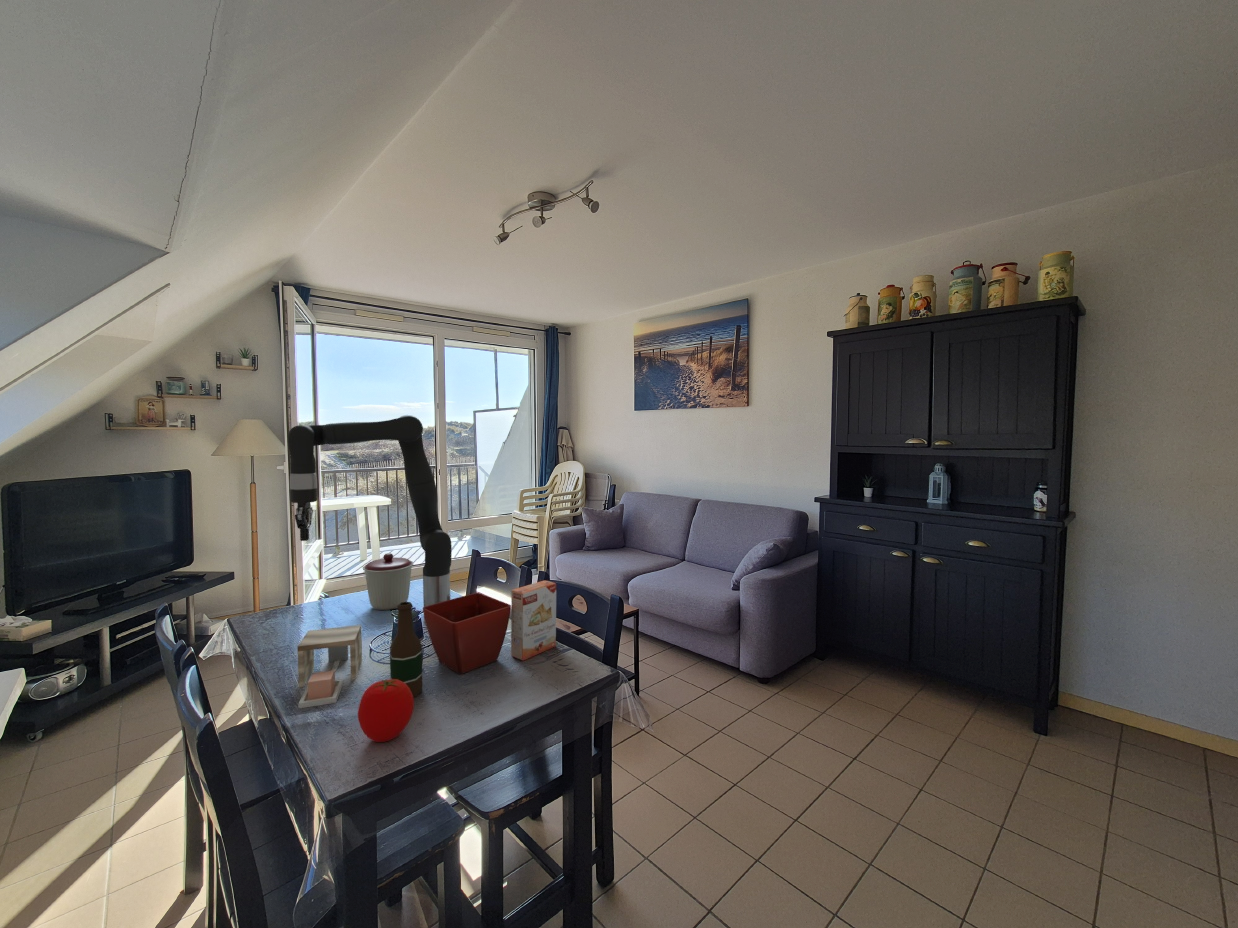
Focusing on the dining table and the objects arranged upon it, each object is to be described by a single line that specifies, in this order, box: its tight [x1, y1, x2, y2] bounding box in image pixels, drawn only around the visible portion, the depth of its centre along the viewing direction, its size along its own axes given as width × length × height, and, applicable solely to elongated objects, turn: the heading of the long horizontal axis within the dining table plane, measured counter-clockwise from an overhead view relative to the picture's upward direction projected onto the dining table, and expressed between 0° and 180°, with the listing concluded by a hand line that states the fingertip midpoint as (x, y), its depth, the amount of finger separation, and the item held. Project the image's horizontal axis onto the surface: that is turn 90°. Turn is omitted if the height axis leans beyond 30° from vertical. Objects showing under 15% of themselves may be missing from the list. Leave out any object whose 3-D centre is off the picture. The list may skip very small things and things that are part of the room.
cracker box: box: [510, 580, 557, 662], centre depth 155 cm, size 14×6×21 cm, turn 141°
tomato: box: [357, 678, 415, 743], centre depth 111 cm, size 11×11×13 cm
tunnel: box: [296, 624, 363, 688], centre depth 137 cm, size 11×13×12 cm
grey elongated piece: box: [297, 645, 349, 709], centre depth 134 cm, size 27×8×8 cm, turn 20°
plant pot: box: [422, 592, 511, 675], centre depth 148 cm, size 19×19×17 cm
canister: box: [362, 552, 414, 611], centre depth 196 cm, size 18×18×21 cm
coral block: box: [307, 669, 336, 700], centre depth 126 cm, size 5×5×5 cm
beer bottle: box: [389, 601, 423, 698], centre depth 130 cm, size 8×8×24 cm
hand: (304, 540), depth 161 cm, fingers closed
